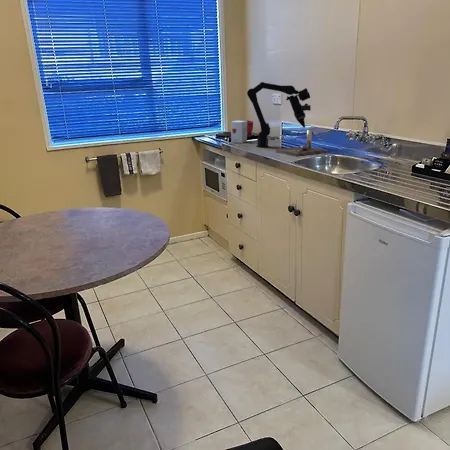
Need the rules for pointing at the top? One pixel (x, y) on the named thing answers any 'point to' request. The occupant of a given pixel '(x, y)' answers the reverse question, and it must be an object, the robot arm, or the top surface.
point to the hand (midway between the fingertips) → (303, 126)
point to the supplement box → (239, 131)
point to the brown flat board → (303, 152)
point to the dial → (308, 143)
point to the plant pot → (249, 128)
